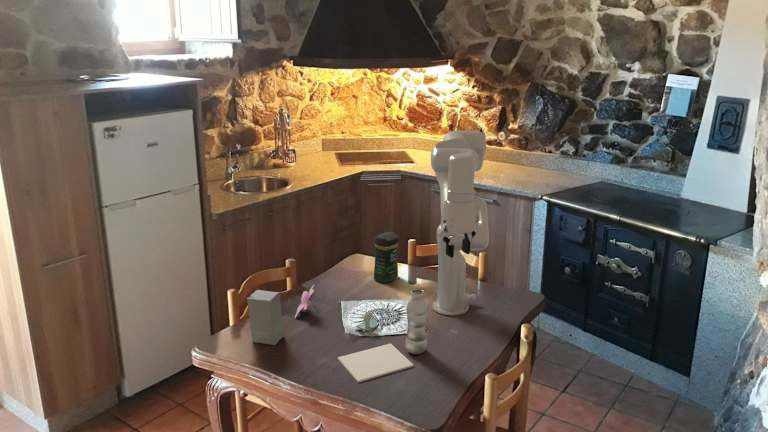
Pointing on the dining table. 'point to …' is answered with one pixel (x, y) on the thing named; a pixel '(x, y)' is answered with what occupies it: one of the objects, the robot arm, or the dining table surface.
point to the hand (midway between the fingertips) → (457, 253)
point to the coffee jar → (386, 257)
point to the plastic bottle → (416, 323)
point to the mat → (374, 362)
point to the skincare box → (265, 317)
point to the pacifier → (367, 323)
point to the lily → (305, 301)
